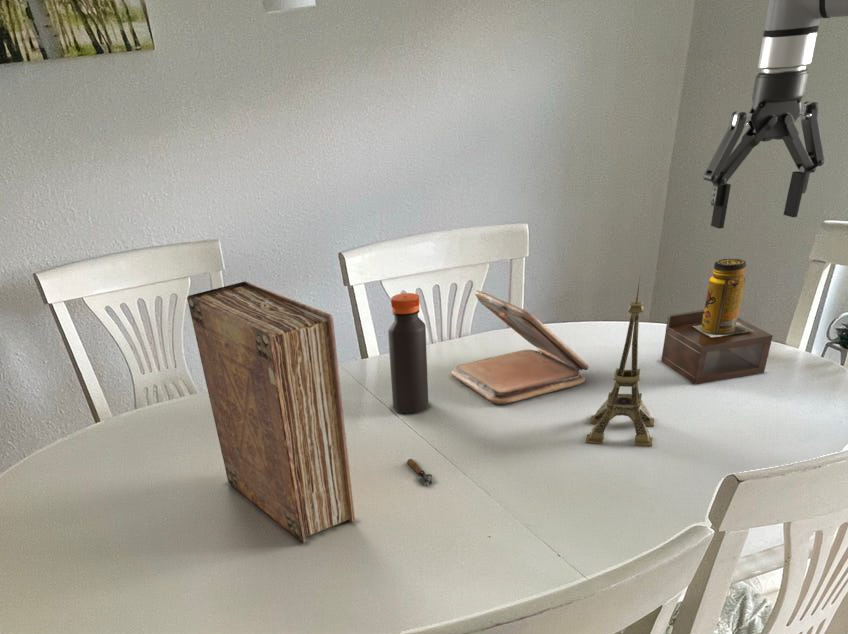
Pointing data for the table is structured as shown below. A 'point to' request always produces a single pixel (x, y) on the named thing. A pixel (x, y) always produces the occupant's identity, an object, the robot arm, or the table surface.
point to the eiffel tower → (625, 402)
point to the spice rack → (713, 350)
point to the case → (522, 360)
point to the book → (276, 404)
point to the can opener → (419, 472)
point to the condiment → (724, 299)
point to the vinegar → (408, 355)
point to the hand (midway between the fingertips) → (753, 221)
